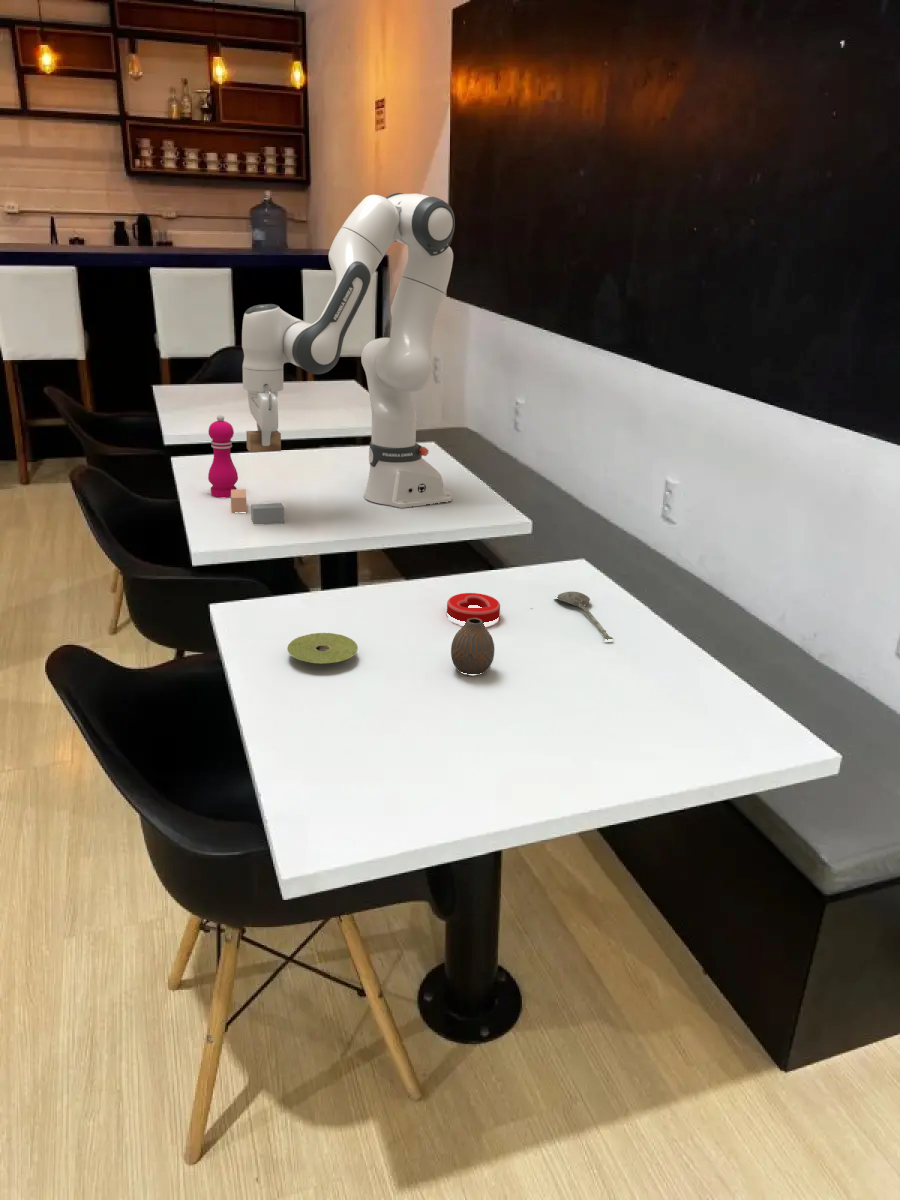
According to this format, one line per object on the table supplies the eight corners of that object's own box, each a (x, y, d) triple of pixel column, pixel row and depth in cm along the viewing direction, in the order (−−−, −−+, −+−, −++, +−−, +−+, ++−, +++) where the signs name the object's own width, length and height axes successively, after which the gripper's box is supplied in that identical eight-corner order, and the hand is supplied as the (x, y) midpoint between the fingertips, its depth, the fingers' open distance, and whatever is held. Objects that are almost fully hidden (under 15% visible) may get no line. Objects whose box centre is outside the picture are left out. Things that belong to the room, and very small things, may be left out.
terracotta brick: (231, 505, 222) (231, 489, 220) (246, 505, 223) (245, 489, 221) (231, 514, 216) (231, 497, 214) (246, 513, 216) (246, 497, 215)
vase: (443, 663, 149) (446, 614, 145) (482, 658, 151) (486, 610, 148) (459, 682, 143) (462, 631, 139) (499, 677, 145) (503, 627, 142)
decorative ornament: (496, 631, 162) (498, 614, 161) (443, 625, 163) (444, 609, 162) (501, 610, 171) (502, 594, 170) (450, 605, 172) (450, 589, 171)
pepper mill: (234, 499, 226) (231, 418, 219) (205, 497, 226) (201, 416, 219) (241, 491, 233) (238, 412, 225) (213, 489, 233) (209, 411, 225)
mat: (371, 654, 150) (371, 644, 149) (329, 680, 141) (329, 669, 140) (316, 637, 155) (316, 626, 155) (273, 661, 146) (272, 650, 145)
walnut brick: (276, 447, 212) (276, 430, 210) (280, 450, 209) (280, 433, 207) (246, 448, 209) (246, 431, 207) (250, 452, 206) (250, 434, 204)
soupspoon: (581, 599, 180) (549, 602, 179) (582, 583, 179) (550, 586, 178) (625, 643, 160) (590, 647, 159) (626, 626, 159) (591, 629, 158)
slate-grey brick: (281, 519, 214) (281, 502, 212) (284, 523, 211) (284, 507, 209) (251, 521, 212) (250, 504, 210) (253, 525, 209) (253, 508, 207)
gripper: (285, 389, 195) (285, 453, 200) (270, 373, 213) (271, 432, 218) (255, 389, 193) (256, 453, 198) (243, 373, 211) (244, 433, 216)
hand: (264, 442), depth 208 cm, fingers closed on walnut brick, 4 cm apart
